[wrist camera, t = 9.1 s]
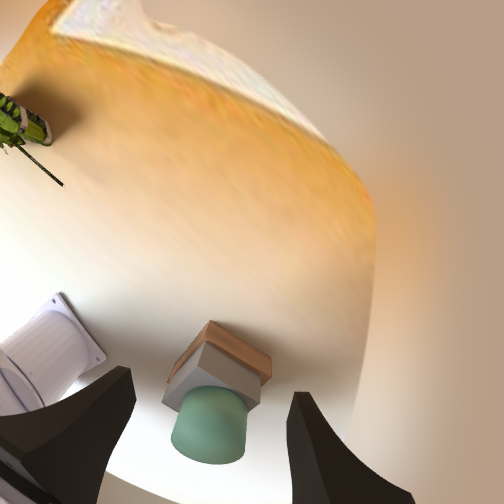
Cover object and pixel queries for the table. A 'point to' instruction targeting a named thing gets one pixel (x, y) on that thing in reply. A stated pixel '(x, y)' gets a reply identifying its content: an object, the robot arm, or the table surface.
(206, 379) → the gray block
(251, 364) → the walnut block
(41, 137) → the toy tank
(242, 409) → the green cylinder
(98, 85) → the table surface
